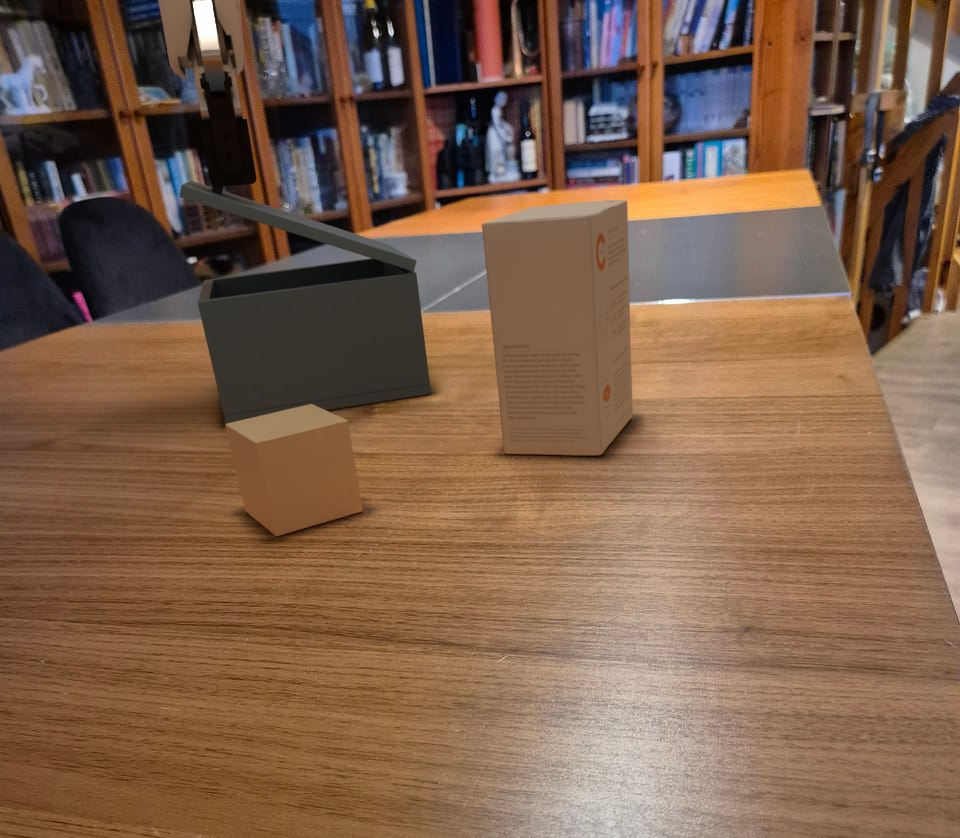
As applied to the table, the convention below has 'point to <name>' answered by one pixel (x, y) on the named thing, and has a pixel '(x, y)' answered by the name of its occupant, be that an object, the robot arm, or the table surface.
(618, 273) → the small box
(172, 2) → the robot arm
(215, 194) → the cool box lid
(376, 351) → the cool box
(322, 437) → the block
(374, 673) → the table surface
